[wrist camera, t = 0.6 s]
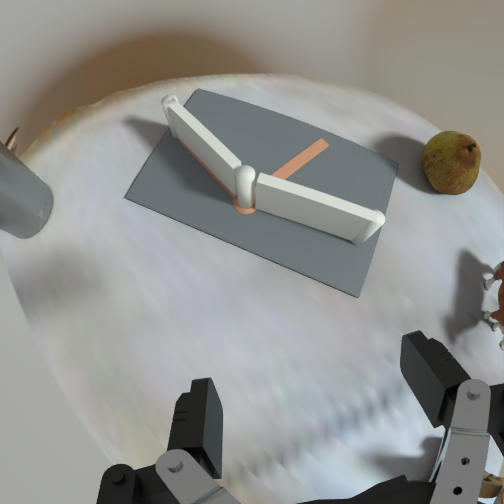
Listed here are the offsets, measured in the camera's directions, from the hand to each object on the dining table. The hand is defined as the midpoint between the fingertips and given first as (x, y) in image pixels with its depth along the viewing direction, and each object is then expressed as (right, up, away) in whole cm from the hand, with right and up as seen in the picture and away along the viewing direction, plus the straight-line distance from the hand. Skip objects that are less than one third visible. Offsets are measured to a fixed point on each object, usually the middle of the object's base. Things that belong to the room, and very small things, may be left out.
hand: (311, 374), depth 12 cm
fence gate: (+5, +9, +27) cm, 28 cm away
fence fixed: (-8, +16, +30) cm, 35 cm away
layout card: (0, +15, +29) cm, 33 cm away
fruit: (+26, +16, +30) cm, 43 cm away
